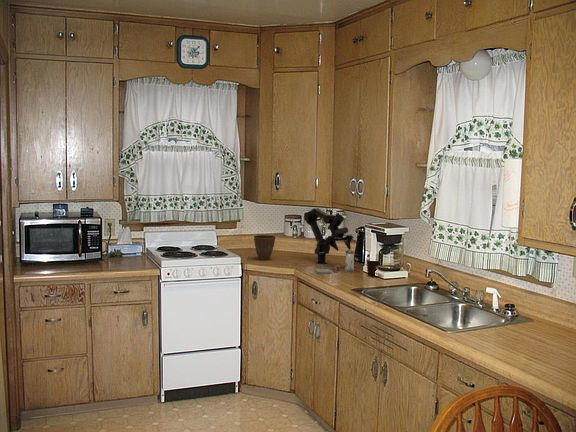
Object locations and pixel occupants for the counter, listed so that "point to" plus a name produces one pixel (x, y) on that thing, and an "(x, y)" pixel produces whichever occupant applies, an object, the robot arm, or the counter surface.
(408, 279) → the counter surface
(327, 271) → the slate pad
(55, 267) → the counter surface
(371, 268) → the coffee mug
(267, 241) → the plant pot
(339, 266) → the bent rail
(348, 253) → the steel canister
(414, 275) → the counter surface
